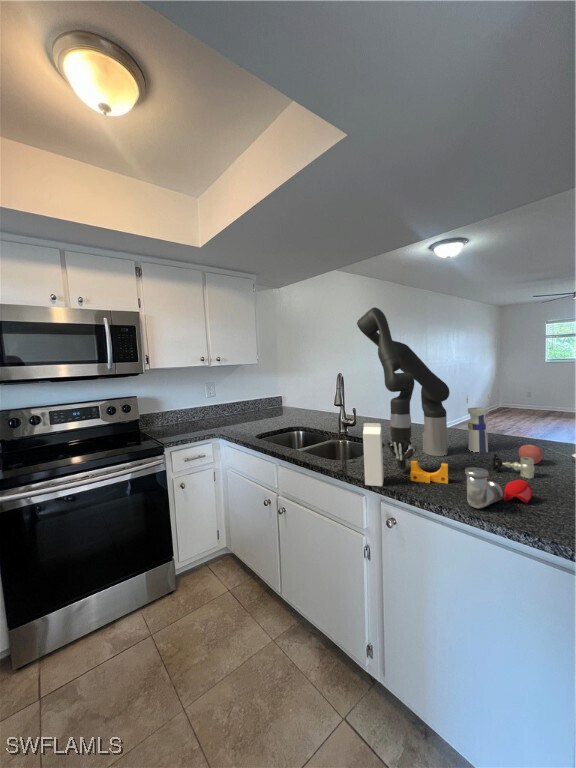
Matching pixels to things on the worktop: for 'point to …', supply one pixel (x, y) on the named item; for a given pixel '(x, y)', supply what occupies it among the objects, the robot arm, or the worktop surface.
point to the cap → (518, 490)
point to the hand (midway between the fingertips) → (401, 468)
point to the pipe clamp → (428, 474)
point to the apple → (531, 452)
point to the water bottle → (477, 429)
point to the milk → (373, 454)
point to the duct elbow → (481, 488)
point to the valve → (516, 466)
